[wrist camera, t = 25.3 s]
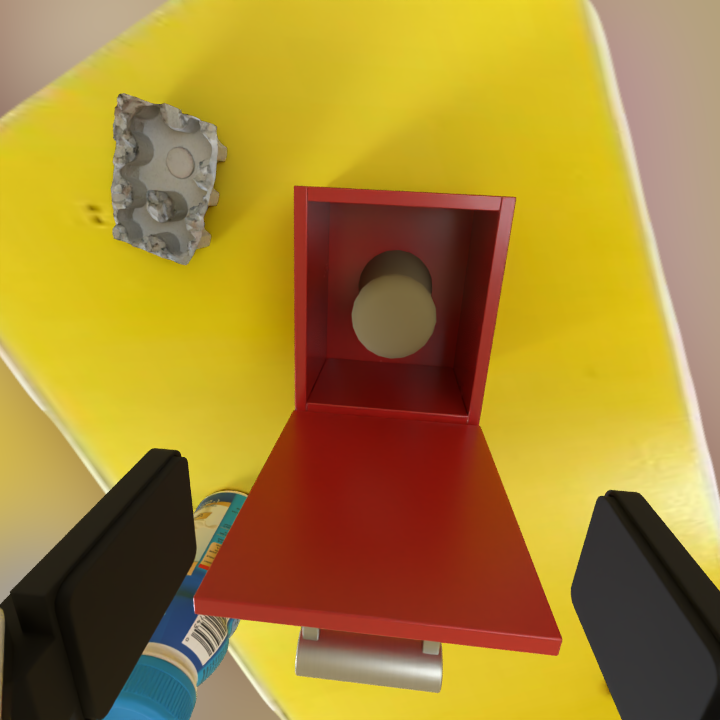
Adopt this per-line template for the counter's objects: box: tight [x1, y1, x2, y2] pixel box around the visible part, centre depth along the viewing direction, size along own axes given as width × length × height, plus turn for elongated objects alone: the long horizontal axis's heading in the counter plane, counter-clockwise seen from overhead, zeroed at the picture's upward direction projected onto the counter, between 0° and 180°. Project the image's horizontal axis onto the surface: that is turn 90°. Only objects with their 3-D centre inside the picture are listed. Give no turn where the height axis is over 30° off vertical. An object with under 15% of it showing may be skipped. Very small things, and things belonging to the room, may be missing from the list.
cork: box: [352, 250, 436, 358], centre depth 31 cm, size 6×6×11 cm
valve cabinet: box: [294, 186, 516, 426], centre depth 32 cm, size 15×13×10 cm
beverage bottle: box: [102, 491, 248, 720], centre depth 37 cm, size 8×8×20 cm
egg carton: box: [111, 93, 227, 265], centre depth 33 cm, size 11×8×4 cm
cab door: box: [193, 410, 562, 693], centre depth 23 cm, size 15×13×6 cm
